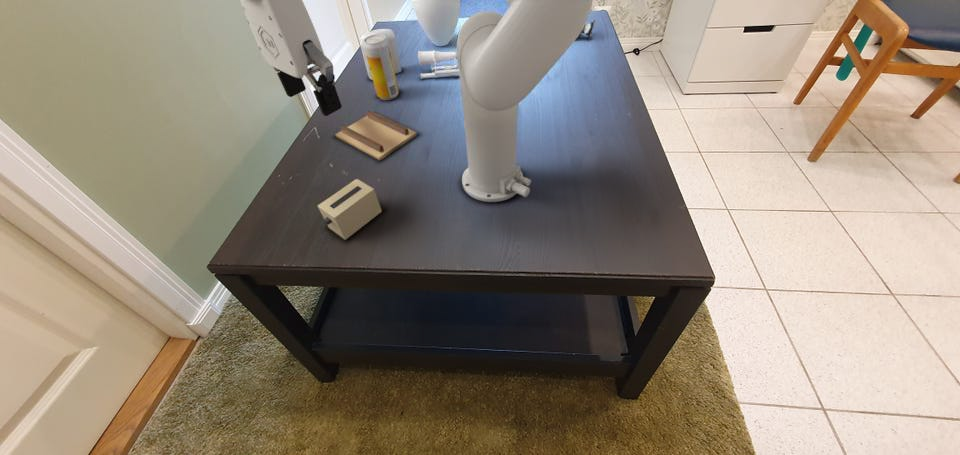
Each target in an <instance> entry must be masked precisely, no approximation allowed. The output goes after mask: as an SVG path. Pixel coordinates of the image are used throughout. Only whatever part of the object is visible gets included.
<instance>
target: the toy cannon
mask: <svg viewBox="0 0 960 455" xmlns="http://www.w3.org/2000/svg"><path fill="white" fill-rule="evenodd" d="M417 58H418V63H419V64H418V65H419V67H422V66H427V65H430V66H431V72H428V73H427V72H426V73H425V72H424V73H420V79H421V80H424V79H438V78H448V77H460V75H459V68H458V64H457V62H456V60H457V51H455V50H454V51H439V50H435V49H433V50H423V51H421V50H418V51H417ZM446 61H454V65H451V64H446V65H443V66H442V65H441V66H437V64H439V63H442V62H446ZM433 65H434V66H433Z"/></svg>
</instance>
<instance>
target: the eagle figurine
mask: <svg viewBox="0 0 960 455" xmlns="http://www.w3.org/2000/svg"><path fill="white" fill-rule="evenodd" d="M595 22H596V19H593V21H591V22H589V23H587V22H586V23H585V25H584V27H583V29H582V31H581V32H580V34H579V35H578V37H580V36H581V35H582V34H584V35H586V36H587V38H588V39H589V40H590V39H591V34H592V33H593V28H594V25H595Z"/></svg>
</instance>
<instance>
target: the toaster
mask: <svg viewBox="0 0 960 455" xmlns="http://www.w3.org/2000/svg"><path fill="white" fill-rule="evenodd" d="M317 208H318V210H319V212H320V214H321V216H322V218H323V220H322V221H323V222H324V224H325V225H327V228H328V229H330V230H331V231H332V232H333V233H335V234H336V235H337V236H339V237H340V238H342V239H343V240H346V241H347V239H348V238H350V237H351V236H352V235H354V234H355V233H357V231H359V230H360V229H361V228H362V227H364V226H365V225H367V224H368V223H370V221H372V220H373V219H375V217H377V216H378V215H379V214H381V213H382V211H383V210H382V207H381V205H380V201H379V199H378V196H377V193H376V191H375V188H373V187H371V186H370V185H368V184H367V183H365V182H363V181H361V180H360V179H358V178H356V179H354V180H353V181H351V182H350V183H348V184H347V185H345V186H344V187H342V188H341V189H340V190H338V191H336V192H335V193H333V194H332V195H331V196H329V197H328V198H327V199H325V200H323V201H322V202H321V203H319V204H317Z"/></svg>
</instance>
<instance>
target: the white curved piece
mask: <svg viewBox="0 0 960 455" xmlns="http://www.w3.org/2000/svg"><path fill="white" fill-rule="evenodd" d="M371 35H383V36H385V38H386V39H387V41H388V44H389V48H390V53H391V57H392V62H393V66H394V71H395V75H396V74H398V73H401V72H402V66H401V65H402V64H401V60H400V56H399V50H398V44H397V40H396V36H395V33H394V31H393V30H392V29H390V28H377V29H373V30H370V31H368V32H367V33H364V34H363V35H362V36H360V37H359V44H360V45H359V46H360V50H361V53H362V56H363V61H364V64H365V68H366V72H367V75H368V76H367V77H368V79H370V80H371V81H373V79H372V75H371V71H370V68H369V64H368V60H367V57H366V53H365V49H364V39H365V38H366V37H368V36H371Z"/></svg>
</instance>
